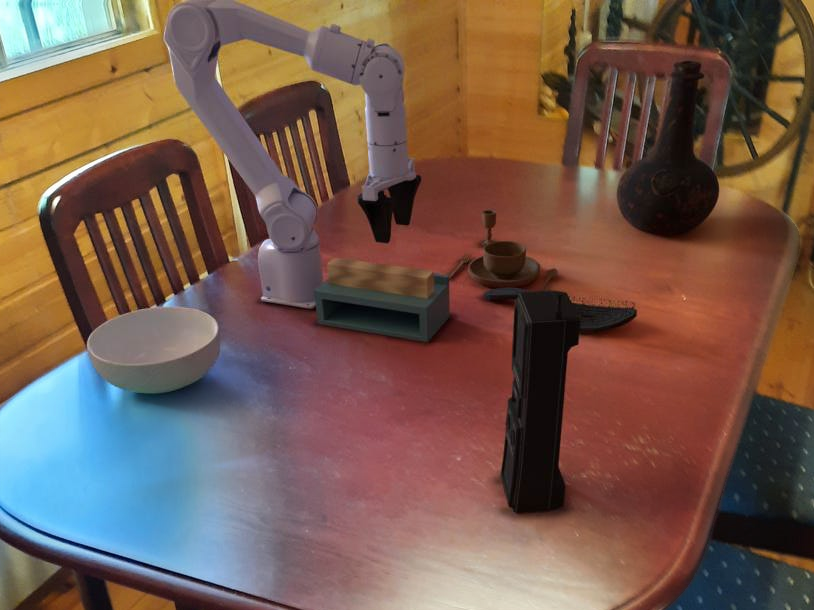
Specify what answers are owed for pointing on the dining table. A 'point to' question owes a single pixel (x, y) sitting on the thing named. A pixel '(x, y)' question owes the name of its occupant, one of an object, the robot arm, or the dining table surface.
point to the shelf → (384, 310)
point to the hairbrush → (580, 311)
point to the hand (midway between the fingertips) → (392, 233)
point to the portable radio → (537, 400)
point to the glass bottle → (671, 168)
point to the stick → (381, 277)
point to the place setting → (503, 262)
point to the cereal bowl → (155, 348)
